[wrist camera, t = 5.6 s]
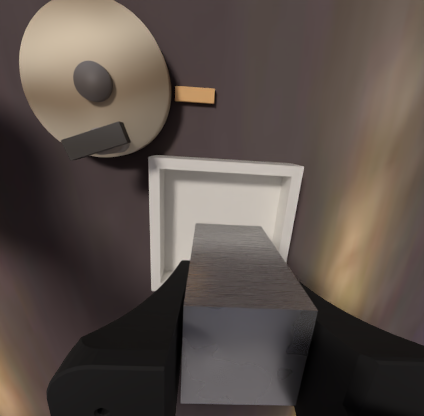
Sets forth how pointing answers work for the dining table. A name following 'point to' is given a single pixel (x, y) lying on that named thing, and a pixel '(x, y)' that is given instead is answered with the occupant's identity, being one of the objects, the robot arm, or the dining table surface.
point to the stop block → (242, 320)
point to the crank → (94, 77)
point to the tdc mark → (194, 94)
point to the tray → (216, 203)
